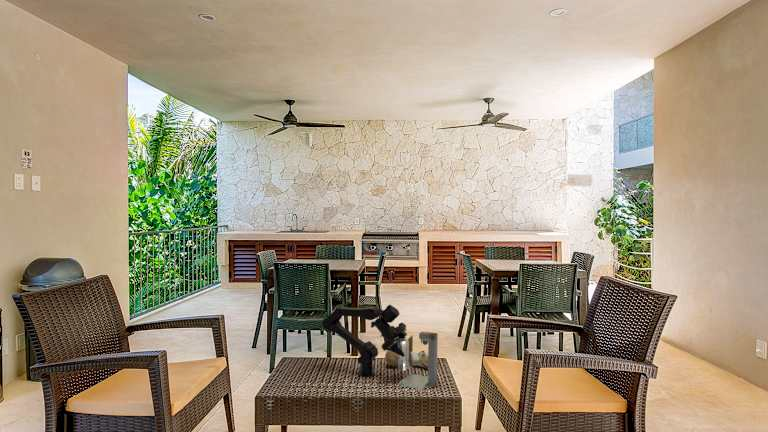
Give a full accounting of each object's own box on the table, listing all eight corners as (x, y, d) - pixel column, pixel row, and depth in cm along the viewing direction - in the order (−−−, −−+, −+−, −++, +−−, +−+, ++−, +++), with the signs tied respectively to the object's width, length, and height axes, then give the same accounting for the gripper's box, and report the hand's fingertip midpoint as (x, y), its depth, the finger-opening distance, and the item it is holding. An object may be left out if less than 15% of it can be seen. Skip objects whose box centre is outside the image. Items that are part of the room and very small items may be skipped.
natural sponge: (397, 370, 228) (398, 350, 228) (382, 368, 231) (382, 348, 232) (404, 365, 236) (405, 346, 236) (389, 363, 240) (389, 344, 240)
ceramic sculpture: (414, 345, 242) (441, 351, 236) (413, 361, 242) (440, 367, 236) (407, 351, 232) (434, 356, 226) (406, 367, 232) (433, 373, 226)
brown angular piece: (412, 363, 240) (412, 329, 240) (392, 362, 241) (392, 328, 242) (412, 361, 244) (412, 327, 244) (392, 360, 245) (393, 327, 246)
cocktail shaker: (396, 369, 212) (396, 338, 213) (401, 366, 216) (401, 336, 217) (405, 370, 210) (406, 339, 210) (410, 367, 214) (410, 337, 214)
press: (394, 388, 202) (394, 336, 203) (409, 376, 219) (410, 327, 220) (427, 394, 196) (427, 340, 196) (440, 381, 213) (440, 331, 213)
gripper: (388, 321, 207) (410, 348, 202) (403, 314, 224) (424, 339, 219) (372, 337, 210) (394, 364, 205) (389, 328, 227) (409, 353, 222)
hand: (406, 354), depth 213 cm, fingers closed on cocktail shaker, 5 cm apart
